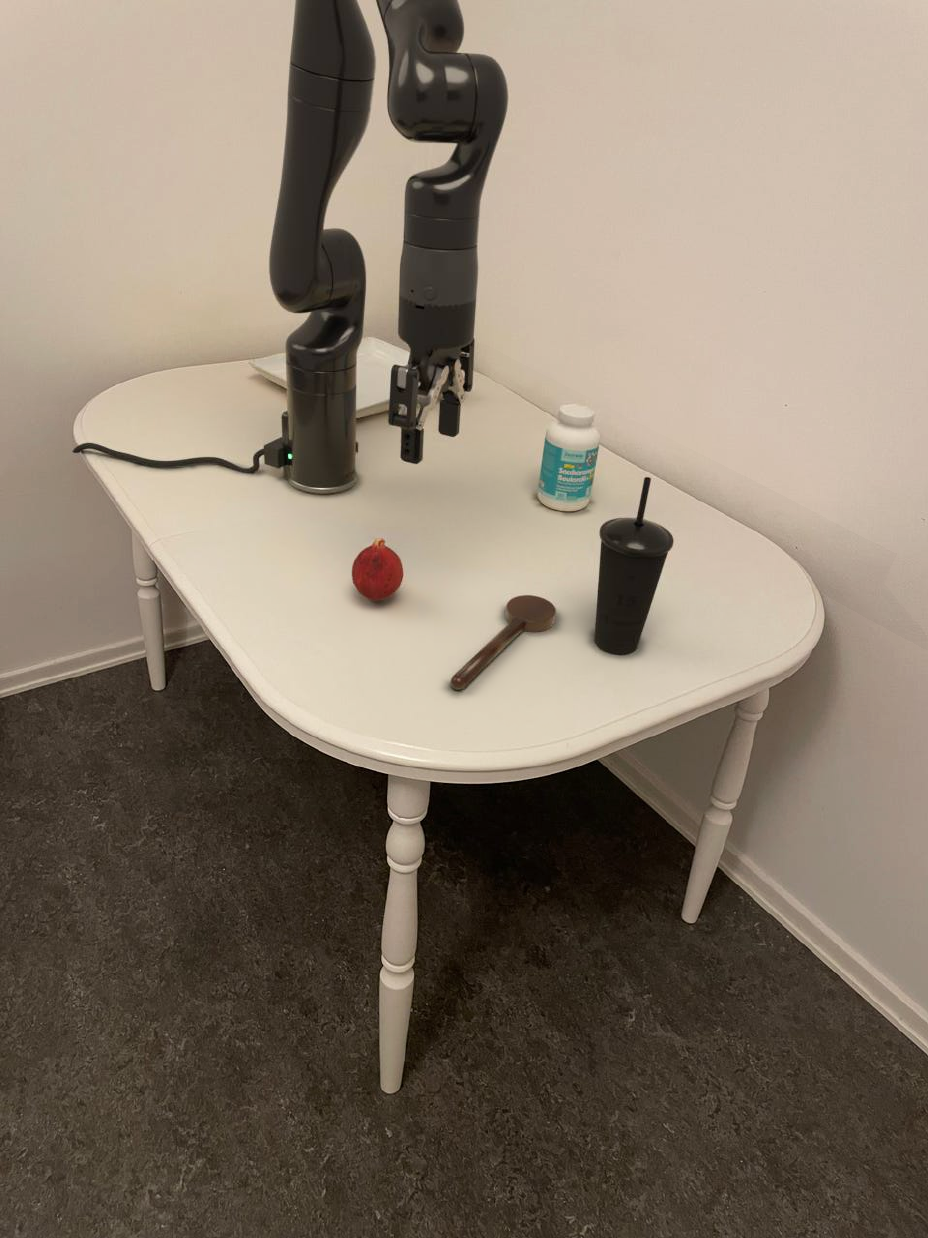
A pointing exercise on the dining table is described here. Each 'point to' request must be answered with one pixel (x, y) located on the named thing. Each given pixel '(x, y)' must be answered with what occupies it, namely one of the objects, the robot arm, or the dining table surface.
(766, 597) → the dining table surface
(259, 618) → the dining table surface
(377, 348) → the square plate
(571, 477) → the pill bottle
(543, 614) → the spoon
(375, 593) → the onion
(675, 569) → the dining table surface
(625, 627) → the drinking cup
